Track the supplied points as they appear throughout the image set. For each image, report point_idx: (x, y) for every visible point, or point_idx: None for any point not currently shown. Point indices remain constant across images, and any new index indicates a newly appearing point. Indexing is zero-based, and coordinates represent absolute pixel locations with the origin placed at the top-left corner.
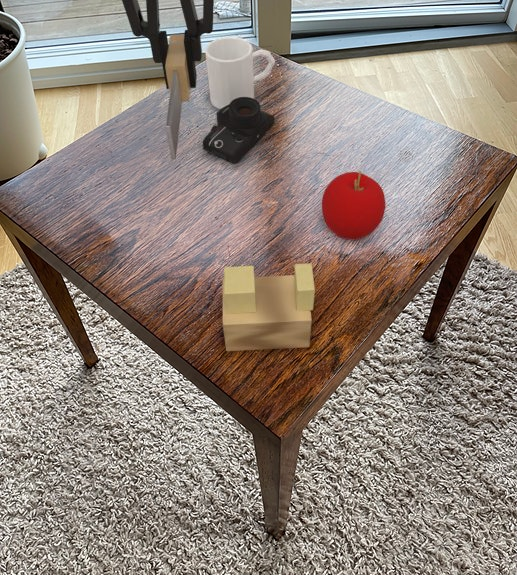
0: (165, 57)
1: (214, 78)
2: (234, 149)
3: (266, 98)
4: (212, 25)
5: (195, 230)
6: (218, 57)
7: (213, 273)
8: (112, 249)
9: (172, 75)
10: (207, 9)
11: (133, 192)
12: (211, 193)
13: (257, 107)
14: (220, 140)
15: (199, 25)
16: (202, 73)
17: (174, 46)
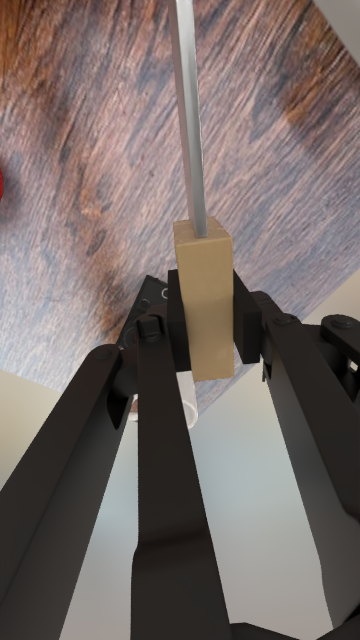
0: (236, 291)
1: (184, 382)
2: (146, 286)
3: None
4: (83, 362)
5: (174, 145)
6: (185, 411)
7: (132, 43)
8: (284, 90)
9: (210, 232)
10: (77, 406)
11: (262, 216)
12: (166, 222)
13: (125, 342)
14: (165, 297)
15: (133, 364)
16: (205, 401)
17: (217, 333)
